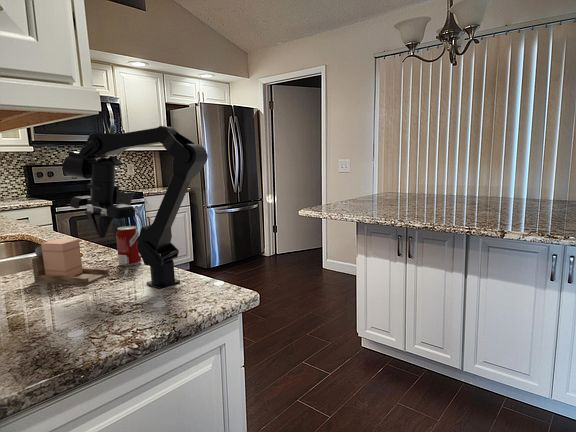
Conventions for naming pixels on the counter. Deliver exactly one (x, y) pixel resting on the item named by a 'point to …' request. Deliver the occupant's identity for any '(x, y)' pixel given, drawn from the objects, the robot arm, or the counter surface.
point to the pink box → (62, 257)
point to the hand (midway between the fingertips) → (102, 237)
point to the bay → (80, 279)
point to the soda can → (128, 246)
